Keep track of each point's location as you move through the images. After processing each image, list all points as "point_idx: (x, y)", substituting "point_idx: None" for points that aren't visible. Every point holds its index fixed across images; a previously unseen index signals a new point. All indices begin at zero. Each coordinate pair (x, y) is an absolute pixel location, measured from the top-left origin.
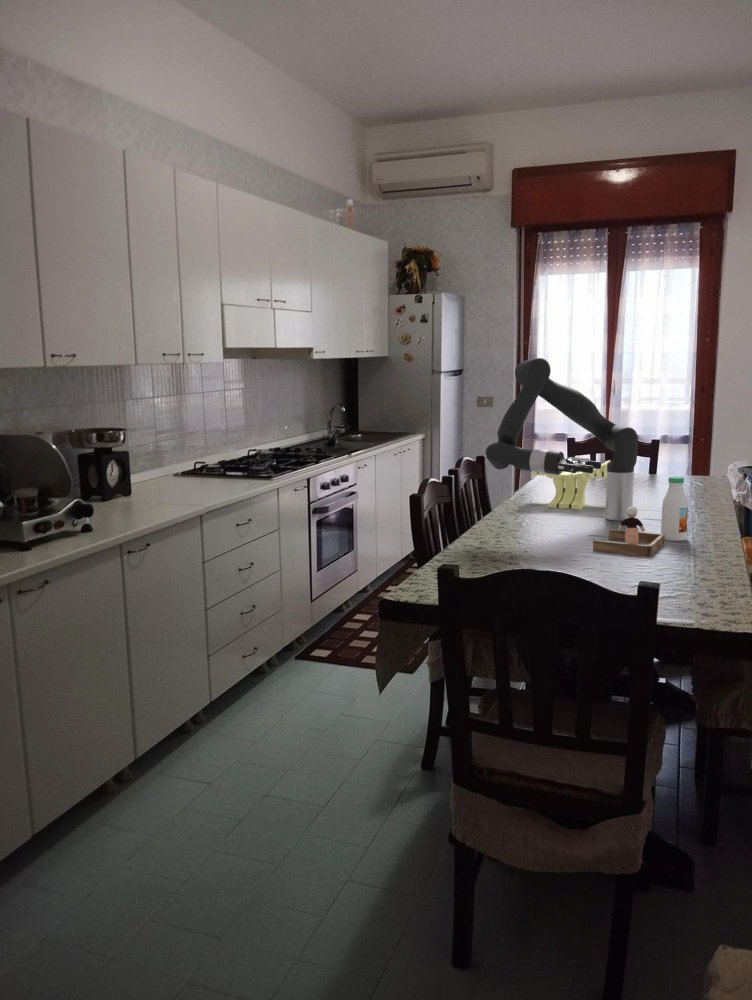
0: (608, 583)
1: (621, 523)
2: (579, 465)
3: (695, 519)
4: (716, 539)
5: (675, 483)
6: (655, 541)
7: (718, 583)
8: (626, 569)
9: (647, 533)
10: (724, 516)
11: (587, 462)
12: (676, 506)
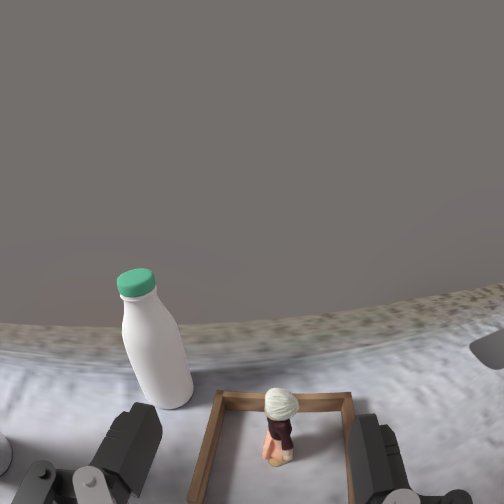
0: None
1: (292, 444)
2: (411, 495)
3: (26, 355)
4: None
5: (154, 288)
6: (298, 395)
7: (422, 313)
8: (454, 401)
9: (217, 419)
10: (22, 327)
11: (113, 490)
12: (178, 332)
